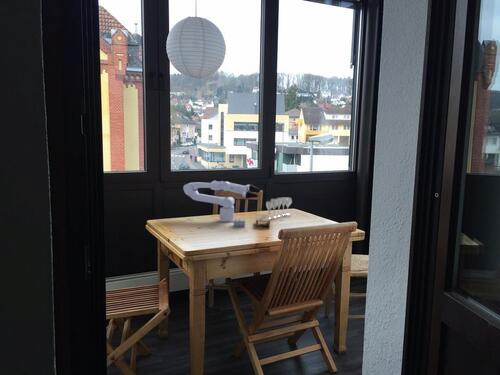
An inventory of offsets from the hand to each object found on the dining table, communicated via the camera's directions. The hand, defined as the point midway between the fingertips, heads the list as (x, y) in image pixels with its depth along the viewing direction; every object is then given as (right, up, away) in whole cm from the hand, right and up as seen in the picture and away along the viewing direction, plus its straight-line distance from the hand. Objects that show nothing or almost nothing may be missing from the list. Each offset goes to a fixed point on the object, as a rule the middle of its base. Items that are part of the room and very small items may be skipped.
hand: (258, 193), depth 276 cm
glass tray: (-12, -21, -11) cm, 26 cm away
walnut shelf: (+2, -20, -6) cm, 22 cm away
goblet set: (+15, -17, +26) cm, 34 cm away
